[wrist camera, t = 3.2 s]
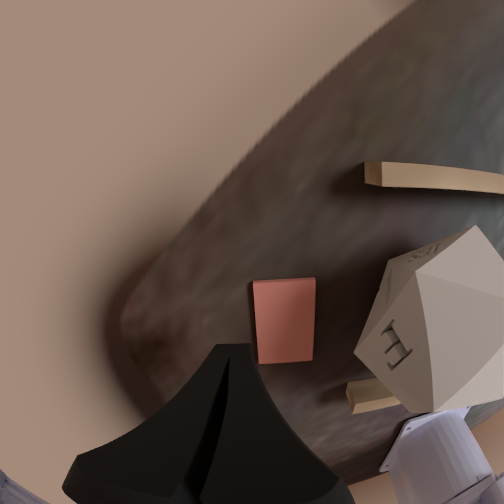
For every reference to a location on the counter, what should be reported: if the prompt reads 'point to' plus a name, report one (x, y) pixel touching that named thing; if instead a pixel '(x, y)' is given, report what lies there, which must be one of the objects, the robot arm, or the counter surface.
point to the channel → (420, 176)
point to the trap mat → (285, 319)
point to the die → (439, 325)
